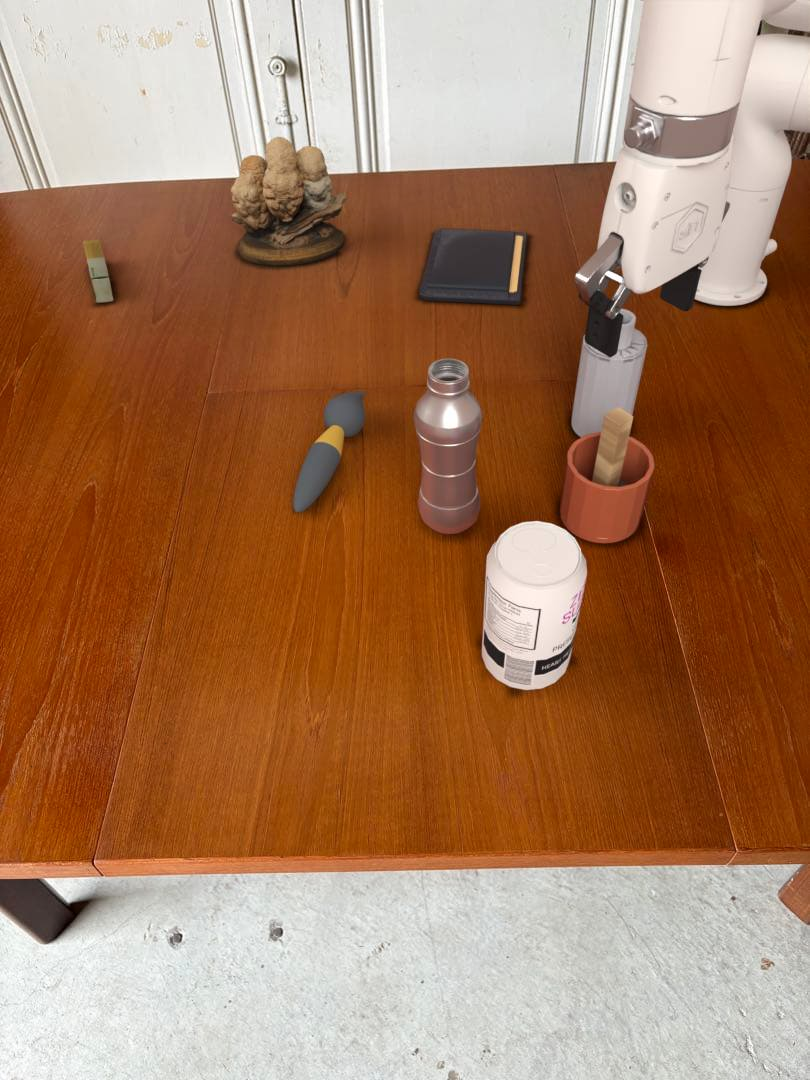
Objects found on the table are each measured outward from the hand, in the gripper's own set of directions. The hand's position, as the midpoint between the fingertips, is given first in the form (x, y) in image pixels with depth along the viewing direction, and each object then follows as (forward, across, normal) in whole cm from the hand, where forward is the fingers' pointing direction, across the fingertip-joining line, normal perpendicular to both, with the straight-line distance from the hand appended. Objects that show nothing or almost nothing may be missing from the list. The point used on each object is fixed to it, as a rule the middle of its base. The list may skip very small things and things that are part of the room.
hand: (638, 326), depth 71 cm
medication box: (+24, -22, +82) cm, 88 cm away
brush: (+23, -1, 0) cm, 23 cm away
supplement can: (+23, -20, -8) cm, 32 cm away
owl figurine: (+24, +6, +71) cm, 75 cm away
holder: (+24, -1, 0) cm, 24 cm away
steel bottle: (+24, +10, +10) cm, 28 cm away
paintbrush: (+24, -18, +26) cm, 39 cm away
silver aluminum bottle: (+24, -14, +10) cm, 29 cm away
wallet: (+24, +23, +47) cm, 58 cm away
